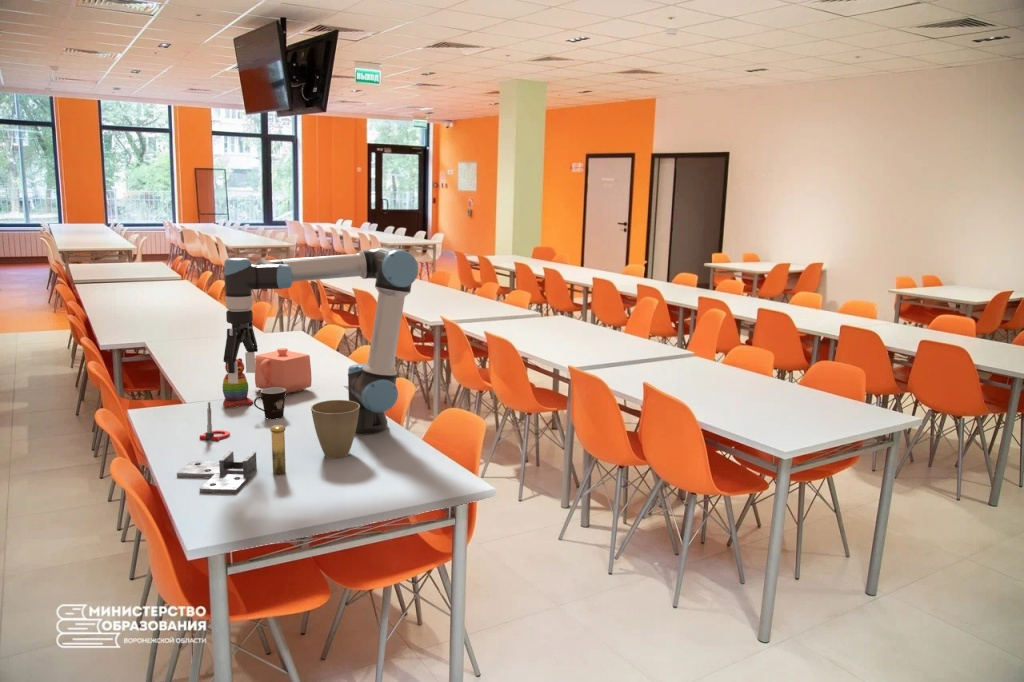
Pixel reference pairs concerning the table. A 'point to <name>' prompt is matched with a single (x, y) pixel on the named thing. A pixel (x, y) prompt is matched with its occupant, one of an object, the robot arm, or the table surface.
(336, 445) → the plant pot
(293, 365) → the teapot
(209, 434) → the tow hook
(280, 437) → the brass hinge pin
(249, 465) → the hinge leaves
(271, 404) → the coffee mug
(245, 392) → the stacking bear
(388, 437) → the table surface
